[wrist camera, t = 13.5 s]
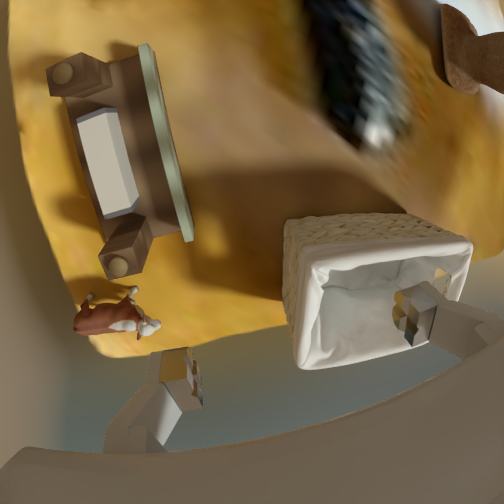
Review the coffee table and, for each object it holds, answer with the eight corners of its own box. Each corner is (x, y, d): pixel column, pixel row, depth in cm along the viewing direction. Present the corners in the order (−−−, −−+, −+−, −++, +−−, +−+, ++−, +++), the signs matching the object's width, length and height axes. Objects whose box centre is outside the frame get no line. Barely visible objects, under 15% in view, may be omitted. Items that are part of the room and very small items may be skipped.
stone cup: (479, 102, 36) (545, 114, 22) (436, 85, 34) (510, 90, 21) (476, 28, 29) (538, 26, 16) (432, 4, 27) (498, -10, 14)
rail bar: (90, 117, 29) (76, 118, 25) (116, 107, 30) (104, 107, 26) (115, 207, 35) (105, 219, 31) (140, 200, 35) (132, 211, 31)
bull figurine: (166, 306, 44) (161, 343, 36) (87, 312, 42) (73, 346, 35) (160, 282, 42) (154, 317, 35) (79, 289, 40) (61, 322, 33)
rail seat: (66, 84, 28) (22, 79, 18) (154, 52, 28) (135, 29, 18) (111, 245, 38) (87, 289, 28) (194, 224, 39) (192, 264, 29)
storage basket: (271, 307, 47) (295, 378, 34) (272, 208, 40) (308, 259, 27) (398, 289, 50) (444, 339, 37) (416, 203, 43) (479, 241, 30)
